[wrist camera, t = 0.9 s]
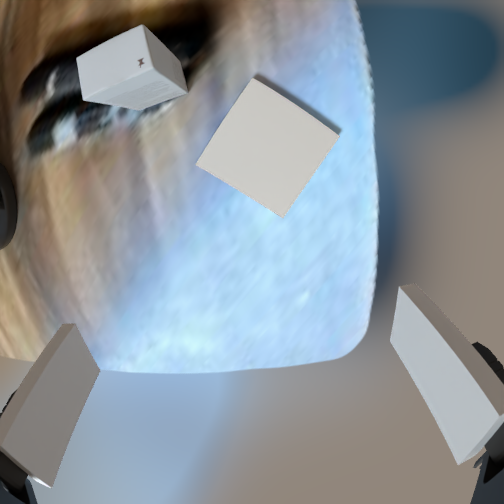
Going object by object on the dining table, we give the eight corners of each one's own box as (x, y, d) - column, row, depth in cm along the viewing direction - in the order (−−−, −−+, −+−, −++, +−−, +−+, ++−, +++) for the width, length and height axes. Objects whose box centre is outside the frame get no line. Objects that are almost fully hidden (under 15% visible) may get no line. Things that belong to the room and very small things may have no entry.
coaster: (196, 163, 30) (195, 164, 29) (252, 79, 26) (252, 77, 25) (282, 216, 32) (282, 218, 31) (337, 136, 29) (339, 136, 28)
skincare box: (180, 60, 25) (145, 21, 14) (189, 93, 27) (156, 69, 16) (129, 79, 25) (74, 57, 14) (137, 112, 27) (82, 103, 16)
